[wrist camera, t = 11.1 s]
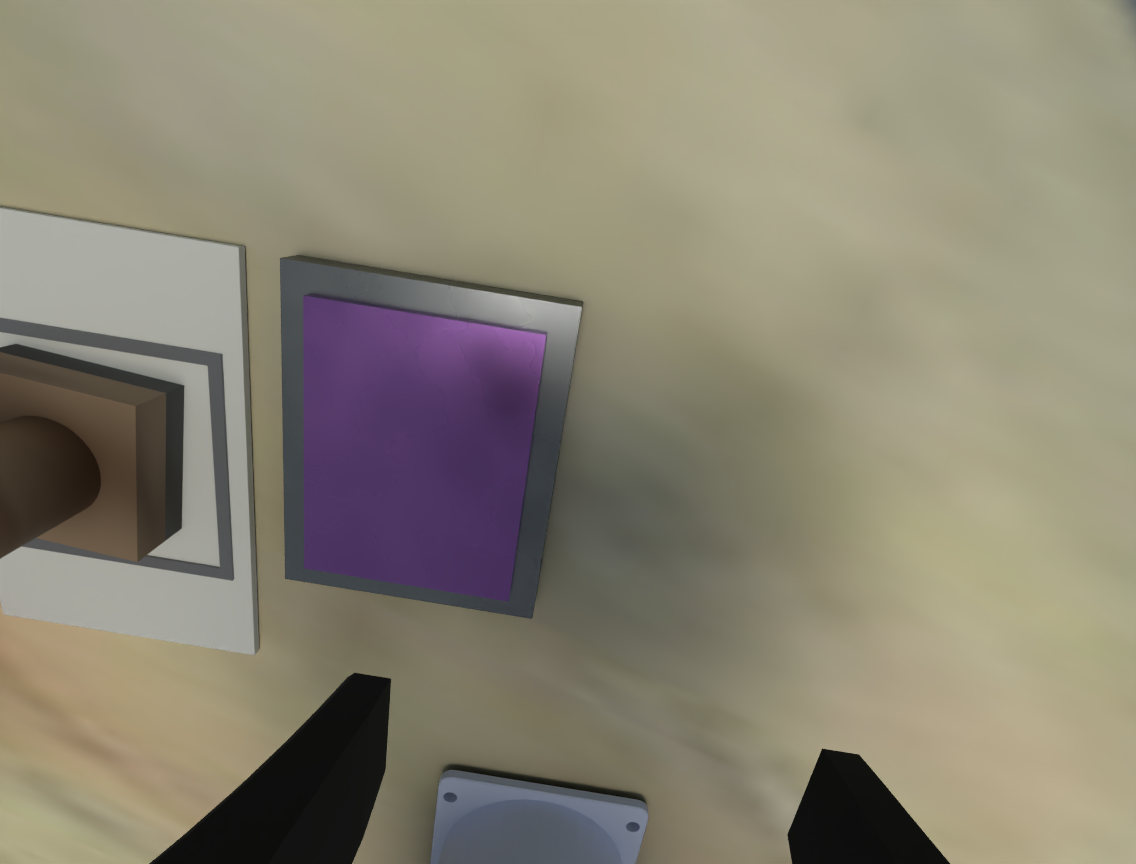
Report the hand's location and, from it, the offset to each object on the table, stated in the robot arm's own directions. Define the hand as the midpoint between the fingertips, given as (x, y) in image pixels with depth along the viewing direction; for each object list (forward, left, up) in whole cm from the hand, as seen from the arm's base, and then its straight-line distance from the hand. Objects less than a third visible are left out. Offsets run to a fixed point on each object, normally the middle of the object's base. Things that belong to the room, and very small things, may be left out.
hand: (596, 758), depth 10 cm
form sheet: (-1, +16, -9) cm, 18 cm away
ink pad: (+1, +6, -9) cm, 11 cm away
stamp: (0, +16, -9) cm, 18 cm away
